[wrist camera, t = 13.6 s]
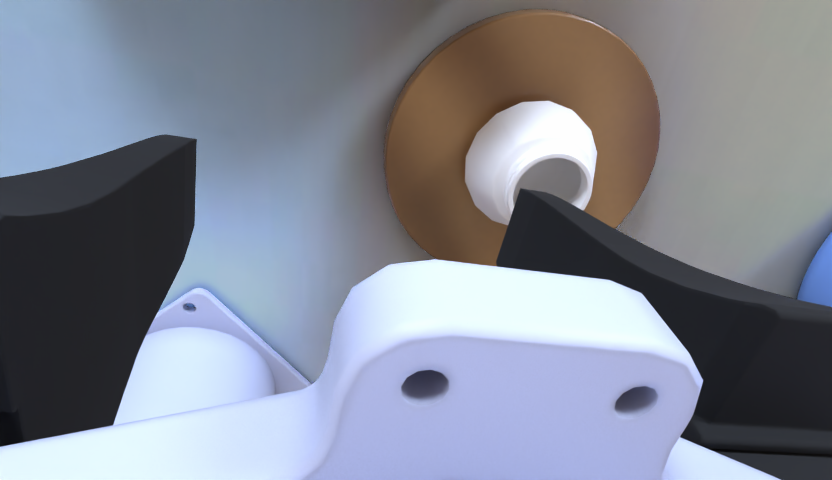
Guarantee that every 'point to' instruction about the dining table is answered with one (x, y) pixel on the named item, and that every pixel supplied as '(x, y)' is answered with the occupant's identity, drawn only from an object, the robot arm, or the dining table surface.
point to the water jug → (819, 277)
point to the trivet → (499, 90)
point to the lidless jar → (530, 158)
